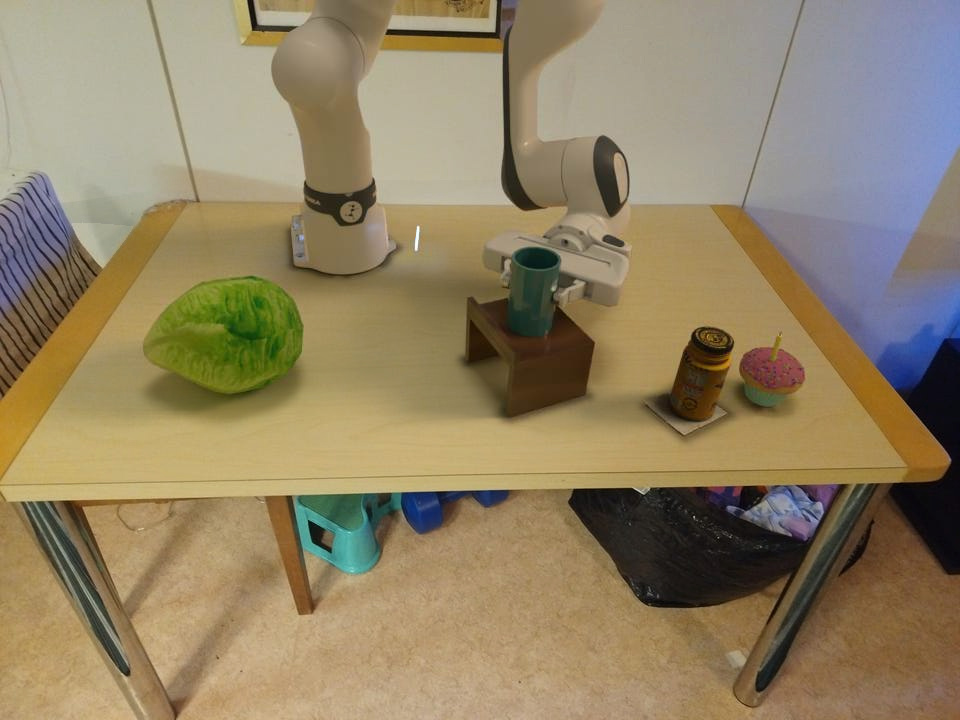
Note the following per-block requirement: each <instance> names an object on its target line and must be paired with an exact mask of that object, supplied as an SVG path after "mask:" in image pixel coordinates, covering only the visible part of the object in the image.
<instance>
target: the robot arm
mask: <svg viewBox="0 0 960 720" xmlns="http://www.w3.org/2000/svg"><path fill="white" fill-rule="evenodd" d="M398 2H399V0H316V1H315V5H314V7H313V10H312V12H311V14H310V16H309V17H308V18H307V19H306V20H305V22H304V23H302V24H300V25H299V26H297V27H295V28H293V29H291V30H290V31H289V32H288V33H287V34H285V35H284V37H283V38H282V39H281V40H280V43H279V44H278V46H277V48H276V50H275V52H274V54H273V56H272V58H271V59H272V60H271V65H270V72H271V73H270V74H271V78H272V82H273V85H274V87H275V89H276V91H277V92H278V93H279V95H280V96H281V98H282V99H283V100H284V101H285V102H286V103H288V106H289V109H290V111H291V114H292V117H293V120H294V123H295V126H296V130H297V132H298V136H299V141H300V148H301V154H302V162H303V169H304V177H305V178H304V181H303V188H302V190H303V198H304V200H303V201H302V202H301V203H300V204H299V211H300V214H293V215H291V223H292V224H291V226H290V234H291V235H290V236H291V246H292V259H293V260H292V261H293V265H294V266H295V267H298V268H308V269H313V270H316V271H319V272H320V273H324V274H331V275H351V274H352V275H353V274H360V273H363V272H367V271H370V270H373V269H375V268H377V267H378V266H380V265H382V263H383V262H384V261H385V259H386V258H387V256H388V255H389V254H390V253H391V252H393V251H395V249H396V248H397V242H396V241H395V240H394V239H393V238H392V237H389V236H388V225H387V217H386V209H385V207H384V206H383V205H381V204H380V203H378V201H377V185H376V179H375V178H374V176H373V163H372V148H371V146H372V145H371V135H370V132H369V129H368V128H367V127H366V125H365V122H364V119H363V115H362V111H361V107H360V102H359V94H358V93H359V84H360V83H361V82H362V81H363V80H364V79H365V78H366V77H367V76H368V75H369V73H370V72H371V70H372V68H373V66H374V63H375V61H376V58H377V57H378V54H379V52H380V49H381V47H382V44H383V41H384V39H385V36H386V33H387V31H388V28H389V25H390V23H391V19H392V17H393V14H394V12H395V9H396V6H397V4H398ZM605 4H606V0H518V3H517V10H516V14H515V18H514V20H513V23H512V24H511V25H510V26H509V27H508V28H507V29H506V31H505V34H504V39H503V47H502V64H501V65H502V67H501V68H502V74H501V75H502V119H503V120H502V121H503V122H502V124H503V126H502V127H503V150H502V160H501V167H500V168H501V169H500V183H501V188H502V191H503V194H505V196H506V197H507V199H508V200H509V201H510V202H511V203H512V204H513V205H514V206H515V207H516V208H518V209H520V210H521V211H523V212H531V211H539V210H545V209H548V208H567V211H566V213H565V214H564V215H563V216H562V217H560V219H558V220H557V222H555V223H554V224H553V225H552V226H550V227H549V229H547V230H546V232H544V234H543V235H542V236H539V235H536V234H532V233H529V232H526V231H522V230H518V229H508V230H505V231H503V232H500V233H499V234H497V235H495V236H494V237H491V238H490V239H489V240H487V241H486V242H484V244H483V247H482V255H481V256H482V259H481V260H482V265H483V268H484V269H486V270H489V271H492V272H495V273H498V274H500V275H499V280H498V287H499V288H502V289H506V290H509V282H510V270H511V257H512V254H513V253H514V252H515V251H516V250H518V249H520V248H524V247H543V248H547V249H550V250H552V251H555V252H556V253H557V254H558V255H559V256H560V257H561V260H562V263H561V270H560V278H559V286H558V289H557V291H555V292H554V295H553V301H552V303H553V304H555V305H557V306H558V307H561V308H564V307H565V306H566V305H567V303H572V302H576V301H581V300H585V301H587V302H591V303H593V304H597V305H601V306H604V307H606V308H611V307H616V306H618V305H619V304H621V301H622V299H623V297H624V294H625V291H626V286H627V282H628V278H629V273H630V268H631V263H632V256H633V246H632V245H631V244H630V243H628V242H626V241H624V240H622V239H623V237H624V236H625V234H626V232H627V229H628V227H629V225H630V221H631V216H632V209H631V204H630V200H629V196H630V186H631V184H630V183H631V181H630V170H629V164H628V160H627V158H626V156H625V154H624V152H623V151H622V150H621V148H620V147H619V146H618V144H617V143H616V142H615V141H614V140H613V139H611V138H610V137H609V136H607V135H604V134H601V135H590V136H579V137H572V138H569V139H568V138H567V139H558V140H557V139H556V140H548V141H547V140H546V141H543V140H542V139H541V138H540V137H539V134H538V85H539V80H540V79H539V78H540V76H541V74H542V71H543V70H544V68H545V67H546V66H547V65H548V64H549V63H550V62H551V60H553V59H554V58H556V57H557V56H558V55H560V54H561V53H562V52H564V51H565V50H567V49H568V48H570V47H571V46H573V45H574V44H576V43H577V42H579V41H580V40H581V39H583V38H584V37H585V36H587V34H588V33H589V32H590V31H591V30H592V29H593V27H594V26H595V25H596V23H597V22H598V20H599V18H600V17H601V15H602V12H603V10H604V7H605ZM419 234H420V226H419V225H418V226H417V227H416V235H415V242H414V243H415V244H414V250H415V251H418V245H419V237H420V235H419Z"/></svg>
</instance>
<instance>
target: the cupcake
mask: <svg viewBox="0 0 960 720" xmlns="http://www.w3.org/2000/svg"><path fill="white" fill-rule="evenodd" d="M783 337H784V336H783V334H782V330H780V331H779V333H778V334H776V338H775V341H774V344H773V346H771V347H770V346H764V347H763V346H761V347H757V346H756V347H755V348H752V349H751V350H749V351H746V352H745V353H744V354H742V357H741V360H740V362H739V366H738V368H739V369H738V372H739V375H740V377H741V379H743V382H744V395H745V397H746V398H747V399H748V400H749V401H750V402H752V403H753V404H755V405H758V406H761V407H766V408H772V407H776V406H778V405H779V404H780V403H781V402H782V401H783V399H784V398H786V397H787V396H788V395H791V394H795V393H796V392H798V391H799V389H801V388H802V387H803V385H804V382H805V380H806V377H805V376H806V371H805V368H804V366H803V363H802V362H800V361H799V360H798V359H797V358H796V357H795V356H794V355H792V354H791V353H790V352H789V351H786V350H784V349H782V348H780V345H781V343H782V339H783Z"/></svg>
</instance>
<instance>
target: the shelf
mask: <svg viewBox="0 0 960 720" xmlns="http://www.w3.org/2000/svg"><path fill="white" fill-rule="evenodd" d="M507 307H508V297H504V298H500V299H496V300H493V301H492V300H491V301H486V302H482V303H479V301H477V300H476V299H475V297H474V296H471V295H470V296H467V297H466V321H465V322H466V323H465V345H464V346H465V347H464V348H465V349H464V359H465V360H466V362H467V363H472V362H476V361H480V360H483V359H487V358H492V357H496V356H500V357H501V358H502V360H504V362H505V363H506V364H507V365H508V367H509V368H508V377H507V378H508V379H507V387H506V390H507V391H506V398H505V399H506V400H505V414H506V415H507V417H508V418H514V417H516V416H520V415H523V414H526V413H529V412H533V411H536V410H540V409H542V408H546V407H550V406H553V405H555V404H559V403H563V402H565V401H569V400H572V399H575V398H579V397H581V396H586V393H587V389H588V384H589V383H588V382H589V377H590V373H591V366H592V361H593V357H594V356H593V355H594V350H595V345H596V342H595V340H594V339H592V338H591V337H590V336H589V335H588V334H587V333H586V332H585V331H584V329H582V328H581V327H580V326H579V325H578V324H577V322H575V321H574V320H573V319H572V318H571V317H570V316H569V315H568V314H567V313H566V312H564V310H563V309H562V308H560V306H558V305H556V308H555V316H554V323H553V327H552V330H551V331H550V332H549V333H548V334H546V335H543V336H540V337H525V336H521V335H518V334H516V333H514V332H512V331H511V330H510V329H509V328H508V326H507Z"/></svg>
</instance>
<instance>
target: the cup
mask: <svg viewBox="0 0 960 720" xmlns="http://www.w3.org/2000/svg"><path fill="white" fill-rule="evenodd" d="M561 263H562V260H561V257H560V256H559V255H558V254H557V253H556V252H555V251H552V250H550V249H547V248H543V247H524V248H520V249H518V250H516V251H515V252H514V253H513V254H512V257H511V270H510V282H509V289H508V296H507V298H508V307H507V326H508V328H509V329H510V330H511V331H512V332H514V333H516V334H518V335H521V336H525V337H540V336H543V335H546V334H548V333H549V332H550V331H551V330H552V327H553V323H554V316H555V308H556V305H555V304H553V303H552V301H553V295H554V292H555V291H557V289H558V286H559V278H560V270H561Z"/></svg>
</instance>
